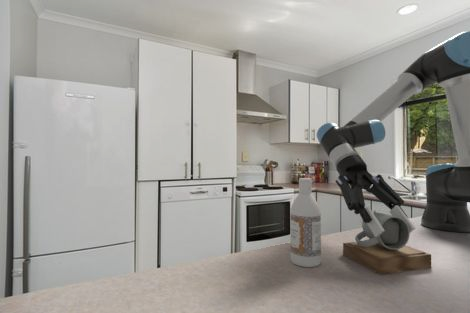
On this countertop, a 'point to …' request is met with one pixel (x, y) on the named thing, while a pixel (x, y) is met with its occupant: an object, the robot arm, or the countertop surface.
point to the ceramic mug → (386, 233)
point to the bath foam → (305, 227)
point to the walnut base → (387, 258)
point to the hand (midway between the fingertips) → (395, 232)
